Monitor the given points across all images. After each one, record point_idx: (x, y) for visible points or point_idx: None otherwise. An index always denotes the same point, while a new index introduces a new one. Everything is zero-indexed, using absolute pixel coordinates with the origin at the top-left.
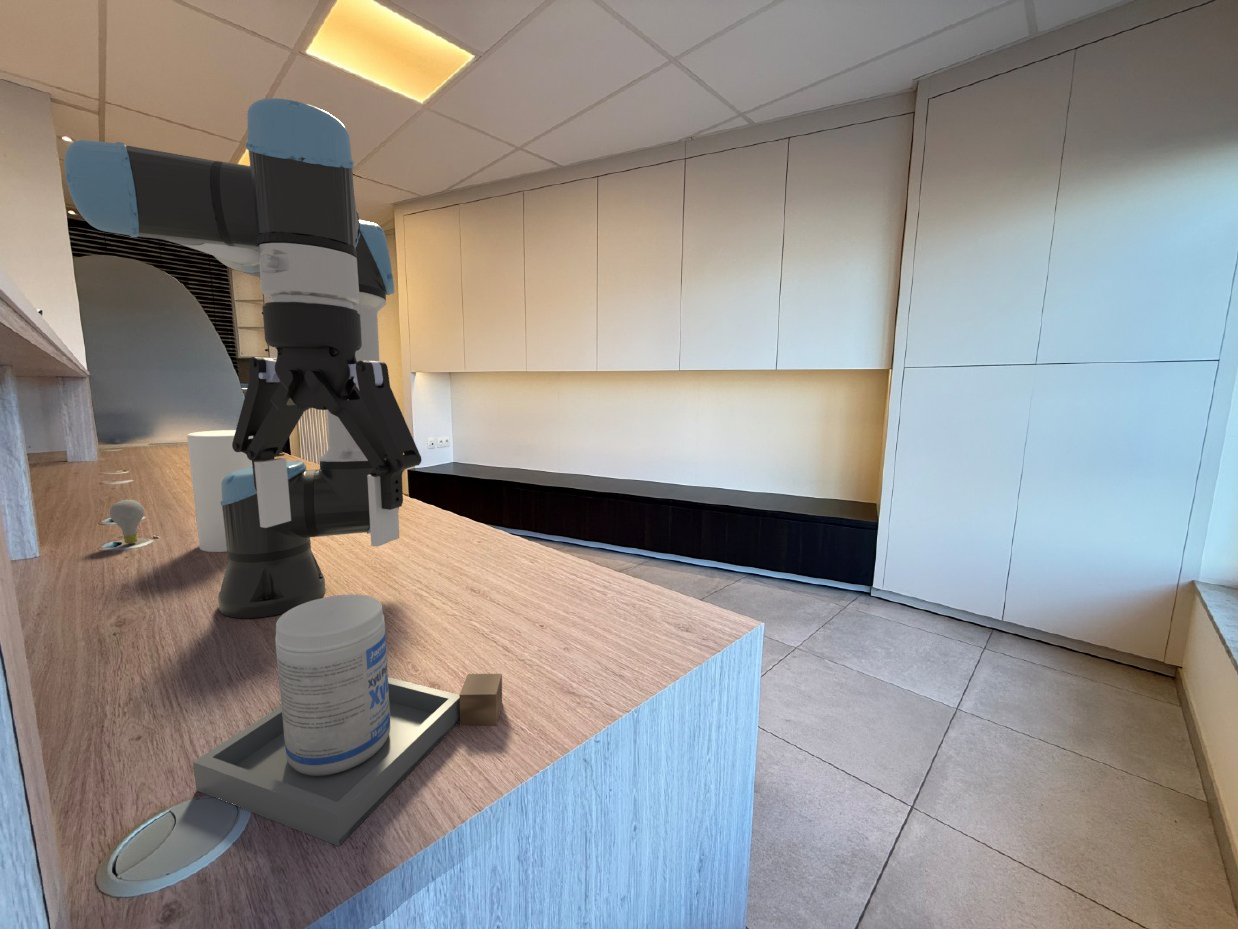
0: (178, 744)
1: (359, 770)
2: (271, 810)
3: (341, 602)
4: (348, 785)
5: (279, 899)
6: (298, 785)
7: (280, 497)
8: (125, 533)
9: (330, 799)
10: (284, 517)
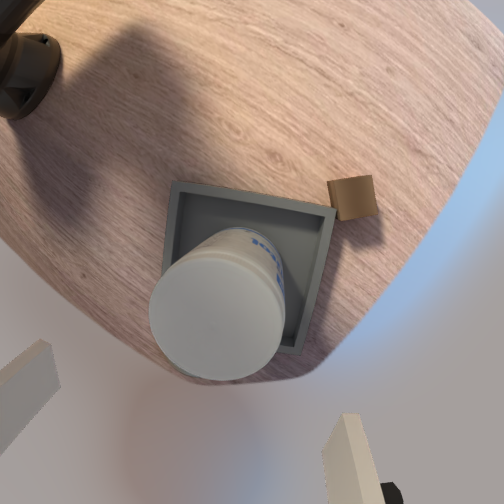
0: (112, 278)
1: None
2: None
3: (201, 293)
4: None
5: (285, 371)
6: None
7: (22, 390)
8: None
9: (287, 346)
10: (47, 361)
